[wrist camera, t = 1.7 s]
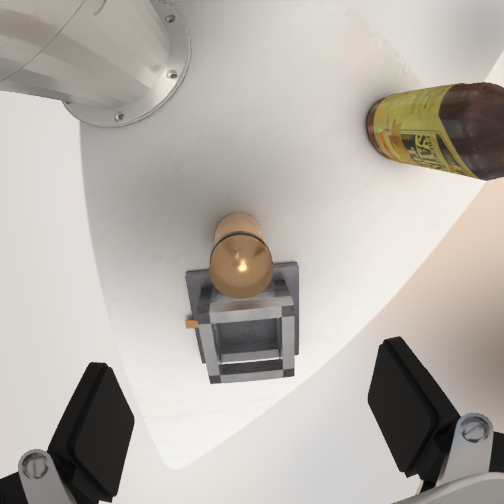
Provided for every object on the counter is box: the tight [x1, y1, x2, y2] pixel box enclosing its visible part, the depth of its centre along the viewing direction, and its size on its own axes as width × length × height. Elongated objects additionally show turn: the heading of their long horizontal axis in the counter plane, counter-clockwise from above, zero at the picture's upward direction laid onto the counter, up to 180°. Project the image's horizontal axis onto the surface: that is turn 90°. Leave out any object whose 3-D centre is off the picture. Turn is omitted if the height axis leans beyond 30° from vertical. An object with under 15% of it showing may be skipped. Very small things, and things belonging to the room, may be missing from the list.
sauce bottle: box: [367, 82, 504, 181], centre depth 15 cm, size 7×6×20 cm
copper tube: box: [209, 213, 273, 299], centre depth 23 cm, size 4×4×8 cm
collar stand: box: [185, 262, 299, 384], centre depth 27 cm, size 10×11×6 cm
